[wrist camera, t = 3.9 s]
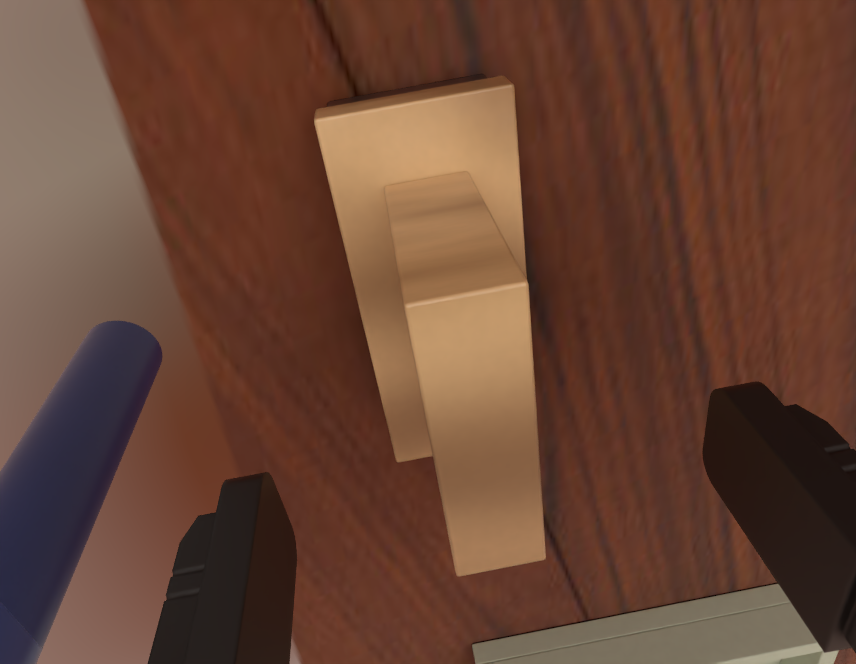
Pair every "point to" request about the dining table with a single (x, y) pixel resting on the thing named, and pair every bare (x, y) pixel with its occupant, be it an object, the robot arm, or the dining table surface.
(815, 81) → the dining table surface
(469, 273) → the wooden board eraser
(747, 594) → the tray
